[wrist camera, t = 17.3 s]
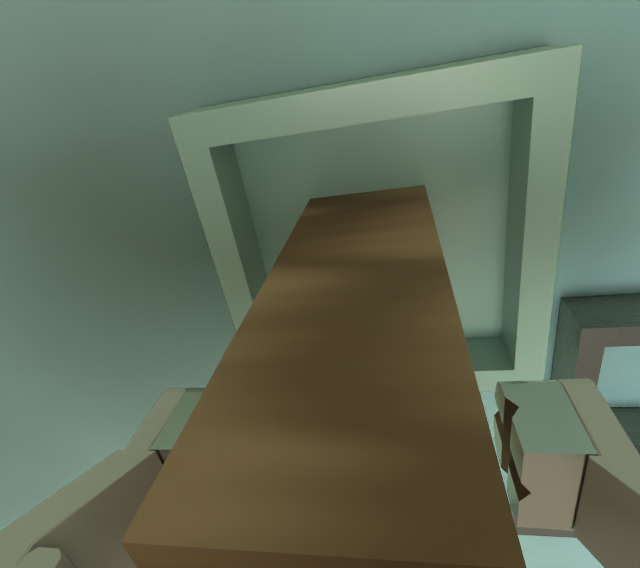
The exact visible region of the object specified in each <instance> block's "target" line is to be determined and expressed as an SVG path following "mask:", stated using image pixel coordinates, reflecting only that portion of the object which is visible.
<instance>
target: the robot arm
mask: <svg viewBox="0 0 640 568" xmlns="http://www.w3.org/2000/svg"><path fill="white" fill-rule="evenodd" d="M204 390H205V388H169V389H168V390H166V391H164V392H163V393H162V394H161V396H160V397H159V399H158V400H157V402H156V403H155V405H154V406H153V408H152V409H151V411H150V412H149V414H148V415H147V417H146V418H145V420H144V421H143V423H142V424H141V426H140V427H139V429H138V430H137V432H136V433H135V434H134V436H133V437H132V439H131V440H130V442H129V443H128V445H127V446H126V448H125V449H124V450H117V451H115V452H114V453H113V454H111V455H110V456H108V457H107V458H105V459H104V460H102V461H101V462H100V463H98V464H97V465H95V466H94V467H92V468H91V469H89V470H88V471H87V472H85V473H84V474H82V475H81V476H79V477H78V478H77V479H75V480H74V481H72V482H71V483H69V484H68V485H66V486H65V487H64V488H62V489H61V490H59V491H58V492H56V493H55V494H53V495H52V496H51V497H49V498H48V499H46V500H45V501H43V502H42V503H40V504H39V505H38V506H36V507H35V508H33V509H32V510H30V511H29V512H28V513H26V514H25V515H23V516H22V517H20V518H19V519H17V520H16V521H15V522H13V523H12V524H10V525H9V526H7V527H6V528H4V529H3V530H2V531H0V568H137V567H136V565H135V564H134V562H133V561H132V559H131V558H130V556H129V555H128V553H127V552H126V550H125V549H124V547H123V546H122V544H121V543H120V542H121V540H122V539H123V537H124V535H125V533H126V531H127V530H128V528H129V526H130V524H131V522H132V520H133V519H134V517H135V515H136V513H137V511H138V510H139V508H140V506H141V504H142V502H143V501H144V499H145V497H146V495H147V493H148V491H149V490H150V488H151V486H152V484H153V482H154V481H155V479H156V477H157V475H158V473H159V472H160V470H161V468H162V466H163V464H164V462H165V461H166V459H167V457H168V455H169V453H170V452H171V450H172V448H173V446H174V444H175V443H176V441H177V439H178V437H179V435H180V434H181V432H182V430H183V428H184V426H185V424H186V423H187V421H188V419H189V417H190V415H191V414H192V412H193V410H194V408H195V406H196V405H197V403H198V401H199V399H200V397H201V395H202V394H203V392H204ZM495 399H496V403H497V406H498V409H499V411H498V412H497V413H496V414H495V415H494V433H495V444H496V449H497V454H498V458H499V462H500V466H501V468H502V469H503V470H504V471H505V472H507V473H508V479H507V492H508V496H509V500H510V503H511V507H512V510H513V514H514V518H515V521H516V525H517V527H527V528H541V529H555V530H569V531H573V534H574V535H575V536H576V537H577V539H578V540H579V541H580V542H581V543H582V544H583V545H584V546H585V547H586V548H587V549H588V550H589V552H590V553H591V554H592V555H593V556H594V557H595V558H596V559H597V560H598V561H599V562H600V563H601V565H602V566H603V567H604V568H640V454H639V453H638V451H637V450H636V448H635V446H634V445H633V443H632V442H631V440H630V439H629V437H628V435H627V434H626V432H625V431H624V429H623V427H622V426H621V424H620V423H619V421H618V419H617V418H616V416H615V415H614V413H613V411H612V410H611V408H610V407H609V405H608V404H607V402H606V400H605V399H604V397H603V396H602V394H601V392H600V391H599V389H598V388H597V386H596V384H595V383H594V382H593V381H592V380H590V379H589V378H580V379H557V380H532V381H500V382H497V384H496V389H495Z"/></svg>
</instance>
